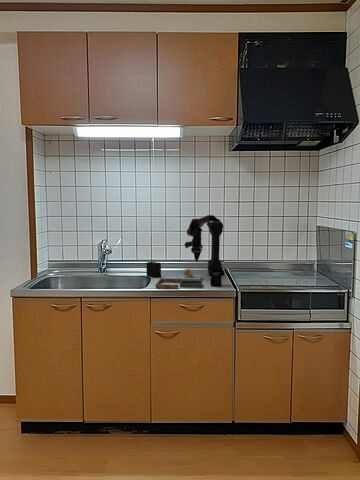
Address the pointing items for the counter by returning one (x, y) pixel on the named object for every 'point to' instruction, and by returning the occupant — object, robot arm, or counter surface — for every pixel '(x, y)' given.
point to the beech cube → (188, 273)
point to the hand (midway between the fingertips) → (197, 260)
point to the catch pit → (191, 284)
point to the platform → (194, 278)
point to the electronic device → (153, 269)
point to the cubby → (167, 282)
